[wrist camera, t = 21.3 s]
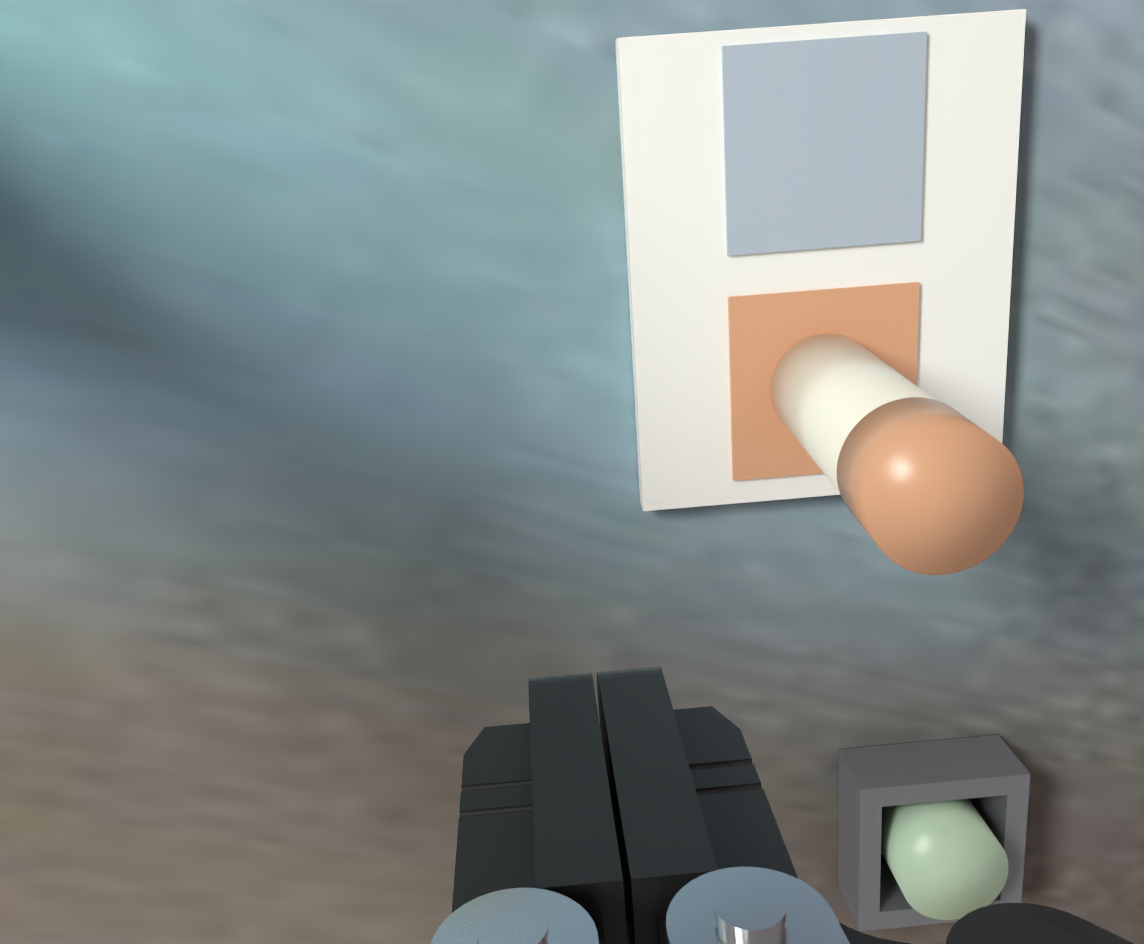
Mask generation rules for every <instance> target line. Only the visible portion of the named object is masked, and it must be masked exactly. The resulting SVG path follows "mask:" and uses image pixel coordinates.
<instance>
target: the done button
mask: <svg viewBox="0 0 1144 944" xmlns="http://www.w3.org/2000/svg"><path fill="white" fill-rule="evenodd" d="M881 852H882V854H883V856H884V858H885V860H886V862H887V864H888V866H889V868H890V870H891V872H892V874H893V876H894V877H895V879H896V881H897V883H898V885H899V887H900V889H901V891H902V893H903V895H904V897H905V899H906V900H907V902H908V903H909V904H910V906H911V907H912V908H913V909H915V910H916V911H917V912H919V913H920V914H922V915H924V916H926V917H929V918H933V919H938V920H956V919H961V918H962V917H963V916H965V915H966V914H968V913H970V912H972V911H974V910H976V909H978V908H981V907H985V906H988V905H989V904H991V903H992V902H993V901H994V900H995V899H996V898H997V896H998V895H999V894H1000V892H1001V891H1002V889H1003V887H1004V885H1005V883H1006V880H1007V876H1008V859H1007V856H1006V853H1005V851H1004V849H1003V847H1002V846H1001V844H1000V843H999V842H998V840H997V839H996V837H995V836H994V834H993V833H992V831H991V830H990V829H989V827H988V826H987V824H986V823H985V821H984V820H983V818H982V817H981V816H980V814H979V813H978V811H977V810H976V808H975V807H974V805H973V804H972V802H971V801H970V800H969V799H960V800H949V801H938V802H928V803H917V804H906V805H896V806H885V807H882V825H881Z"/></svg>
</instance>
